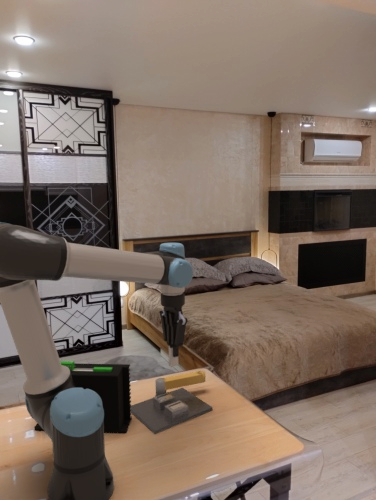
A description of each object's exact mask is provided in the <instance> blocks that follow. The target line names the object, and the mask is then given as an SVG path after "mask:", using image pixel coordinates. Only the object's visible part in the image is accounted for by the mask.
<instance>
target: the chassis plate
mask: <svg viewBox="0 0 376 500" xmlns="http://www.w3.org/2000/svg"><path fill="white" fill-rule="evenodd" d="M213 410H214V409H213V406H211V405H210V404H208V403H207V402H205V401H204V400H202V399H201V398H200V397H197V396H196V395H195V394H193V393H191V392H190V391H188V390H187V389H186V388H184V387H179V388H176V389H175V390H172V391H166V393H164V394H161V395H158V396H156V394H155V395H154V396H153V397H152V398H149V399H146V400H143V401H141V402H137V403H134V404H131V411H130V412H131V415H133V416H134V417H135V418H136V419H138V421H140V422H141V423H142V424H143V425H144V426H146V428H148V429H149V430H150V431H151V432H152V433H153V434H158V433H160V432H163V431H165V430H168V429H170V428H172V427H175V426H178V425H179V424H182V423H185V422H187V421H189V420H192V419H194V418H197V417H200V416H202V415H204V414H206V413H209V412H211V411H213Z"/></svg>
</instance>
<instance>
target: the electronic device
mask: <svg viewBox="0 0 376 500" xmlns="http://www.w3.org/2000/svg"><path fill="white" fill-rule="evenodd" d="M60 362H61V365H63V366H66V367H68V368H69V370H70V373H71V376H72V379H73V382H74V385H75V387H76V388H83V389H90V390H93V391H94V392H96V393H97V394H98V395H99V396H100V398H101V400H102V405H103V409H104V434H116V435H117V434H122V435H125V434H127V432H128V429H129V426H130V425H131V422H132V419H133V418H132V417H133V416H132V413H131V412H130V411H131V405H132V404H131V402H132V400H131V398H132V396H131V395H132V392H131V380H130V379H131V376H130V375H131V372H130V371H131V368H130V367H131V364H129V363H128V364H121V363H118V364H117V363H75V360H60ZM33 428H34V432H45V431H44V430H43V429H42V427H41V426H40V425H39V424H38V423H37V422H36V424H35V426H34V427H33Z"/></svg>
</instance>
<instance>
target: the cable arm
mask: <svg viewBox="0 0 376 500" xmlns="http://www.w3.org/2000/svg"><path fill="white" fill-rule="evenodd" d="M205 382H206V372H205V371H204V370H198V371H194V372H193V371H192V372H188V373H182V374H178V375H173V376H172V375H171V376H167V377H159V378H156V379H155V395H156V396H158V395H161V394H164V393H167V390H172V389H179V388H184V387H187V386H192V385H193V386H194V385H197V384H202V383H205Z"/></svg>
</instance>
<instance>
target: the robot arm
mask: <svg viewBox="0 0 376 500" xmlns="http://www.w3.org/2000/svg"><path fill="white" fill-rule="evenodd" d="M193 276H194V269H193V266H192V264H191V263H190V262H189V261H188V260H186V256H185V246H184V244H183V243H180V242H164V243H161V244H160V245H159V250H158V251H147V252H137V251H130V250H122V249H116V248H109V247H104V246H103V247H101V246H94V245H86V244H81V243H73V242H68V241H67V240H66V238H64V237H62V236H58V235H52V234H48V233H45V232H40V231H37V230H34V229H32V228H29V227H26V226H22V225H17V224H11V223H7V222H1V221H0V306H1V309H2V312H3V314H4V317H5V321H6V322H7V323H6V324H7V326H8V328H9V331H10V335H11V337H12V341H13V343H14V346H15V348H16V350H17V354H18V357H19V360H20V364H21V366H22V368H23V372H24V373H25V377H26V380H25V382H24V384H23V387H22V388H23V391H24V393H25V394H24V395H25V396H24V403H25V407H26V410H27V413H28V414H29V416H30V417H31V418H32V419H33V420H34V421H35V423H36V424H37V423H38V424H39V425H40V426H41V427H42V429H43V430H44V431H43V432H45V434H46V435H47V436H48V438H49V439H50V440H51V444H52V456H53V467H52V471H51V475H50V478H49V482H48V484H47V485H48V486H47V500H109V499H110V497H111V496H112V494H113V491H114V489H115V488H114V487H115V483H114V474H113V471H112V469H111V467H110V464H109V462H108V460H107V457H106V445H105V433H104V409H103V405H102V400H101V398H100V396H99V395H98V394H97V393H96V392H94V391H93V390H90V389H83V388H76V387H75V385H74V382H73V379H72V376H71V373H70V370H69V368H68V367H66V366H63V365H61V362H60V361H61V359H60V356H59V353H58V350H57V347H56V344H55V341H54V338H53V335H52V331H51V327H50V325H49V322H48V318H47V315H46V313H45V310H44V306H43V302H42V299H41V296H40V294H39V291H38V287H37V284H36V281H53V282H58V281H60V280H61V279H63V277H64V278H73V279H74V278H77V279H78V278H79V279H89V280H101V281H103V280H104V281H113V282H114V281H115V282H125V283H138V284H139V283H141V284H151V285H152V284H154V285H159V286H160V290H159V291H160V292H161V293H160V305H161V306H162V307H163V310H159V317H160V318H161V319H160V321H161V329H162V335H163V341H164V342H166V345H167V346H168V347H167V348H168V351H167V353H168V366H169V367H171V368H174V367H177V366H179V355H180V354H179V348H180V347H182V346H184V341H185V334H186V328H187V327H186V326H187V324H188V320H189V319H188V318H187V317H184V315H183V314H184V313H183V306H185V304H186V296H185V295H186V294H185V293H184V292H185V288H186V287H187V286H189V284H190V283H191V282H192V280H193Z"/></svg>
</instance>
